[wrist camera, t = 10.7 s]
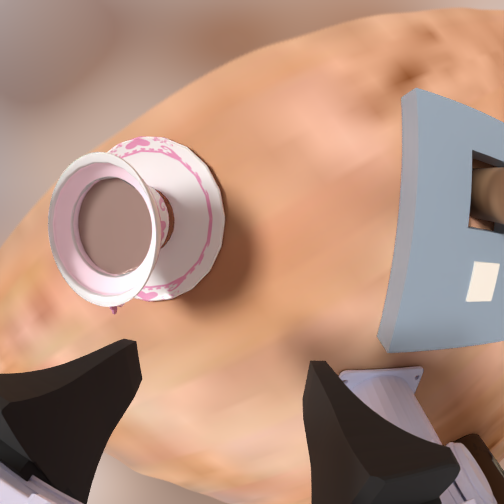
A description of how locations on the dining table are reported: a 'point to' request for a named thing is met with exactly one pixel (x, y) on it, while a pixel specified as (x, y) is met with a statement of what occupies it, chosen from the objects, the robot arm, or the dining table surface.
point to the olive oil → (486, 464)
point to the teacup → (135, 222)
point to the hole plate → (443, 232)
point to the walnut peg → (487, 194)
